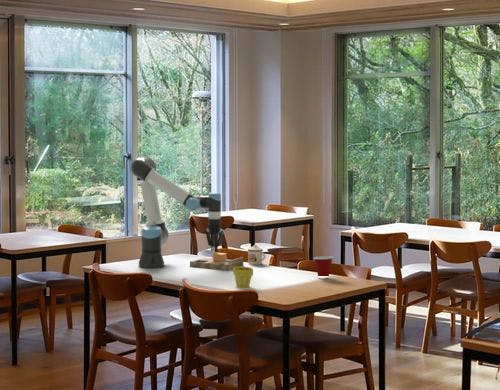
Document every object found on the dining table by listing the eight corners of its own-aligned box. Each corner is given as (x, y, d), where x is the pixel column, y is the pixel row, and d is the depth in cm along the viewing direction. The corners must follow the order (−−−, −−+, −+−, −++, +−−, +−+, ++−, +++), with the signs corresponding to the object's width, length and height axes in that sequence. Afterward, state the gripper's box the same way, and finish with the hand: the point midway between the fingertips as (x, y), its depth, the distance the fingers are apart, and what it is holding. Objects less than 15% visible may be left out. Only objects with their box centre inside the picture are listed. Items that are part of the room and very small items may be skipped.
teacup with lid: (244, 263, 558) (244, 244, 557) (253, 262, 565) (254, 243, 564) (260, 265, 550) (260, 246, 549) (269, 264, 557) (269, 245, 556)
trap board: (189, 266, 545) (189, 257, 545) (204, 262, 560) (204, 253, 560) (229, 270, 533) (229, 260, 533) (243, 266, 548) (243, 257, 548)
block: (212, 260, 549) (213, 253, 549) (217, 259, 555) (217, 252, 554) (221, 261, 547) (221, 254, 546) (226, 260, 552) (226, 253, 552)
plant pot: (255, 288, 478) (255, 269, 477) (236, 289, 475) (236, 270, 474) (249, 284, 488) (249, 266, 487) (230, 285, 485) (231, 267, 484)
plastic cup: (319, 275, 518) (320, 254, 517) (336, 277, 512) (336, 256, 511) (309, 278, 509) (309, 256, 508) (326, 280, 503) (326, 258, 502)
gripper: (227, 218, 551) (226, 257, 553) (208, 217, 557) (208, 255, 559) (221, 219, 544) (220, 259, 546) (202, 218, 550) (201, 257, 552)
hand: (214, 257), depth 552 cm, fingers closed
